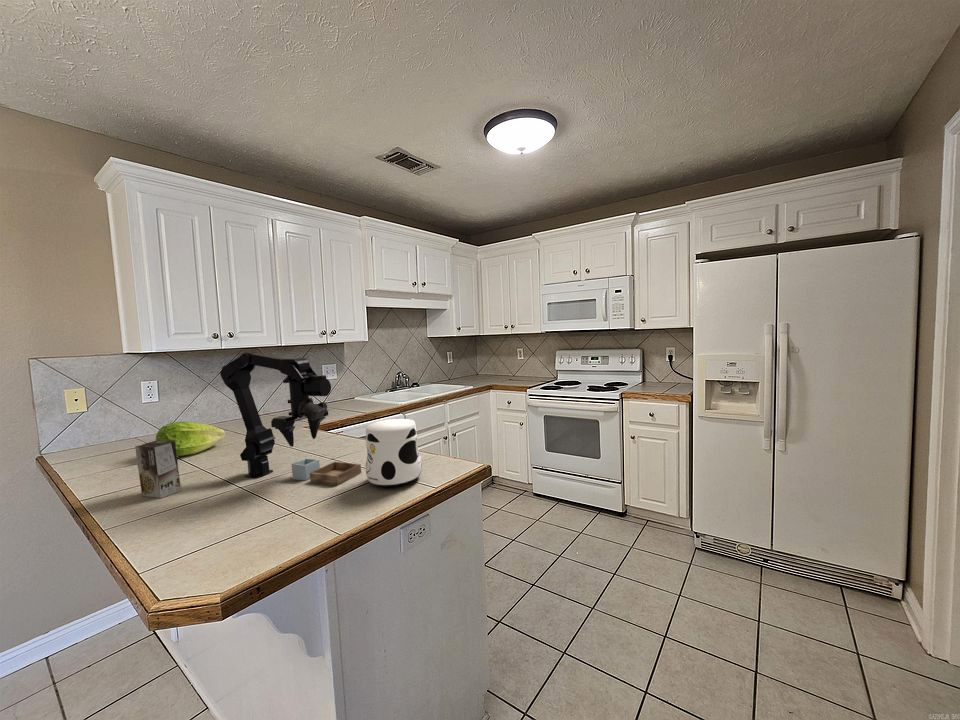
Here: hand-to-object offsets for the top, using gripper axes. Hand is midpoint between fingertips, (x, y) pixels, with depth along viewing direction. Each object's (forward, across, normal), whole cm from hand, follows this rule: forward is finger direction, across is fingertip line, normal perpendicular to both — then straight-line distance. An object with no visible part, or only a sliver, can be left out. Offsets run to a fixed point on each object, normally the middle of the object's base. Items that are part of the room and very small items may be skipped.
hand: (303, 442), depth 133 cm
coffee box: (+13, -24, +36) cm, 45 cm away
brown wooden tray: (+12, +2, -11) cm, 16 cm away
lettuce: (+13, +9, +74) cm, 76 cm away
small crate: (+12, 0, 0) cm, 12 cm away
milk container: (+12, +5, -32) cm, 35 cm away
